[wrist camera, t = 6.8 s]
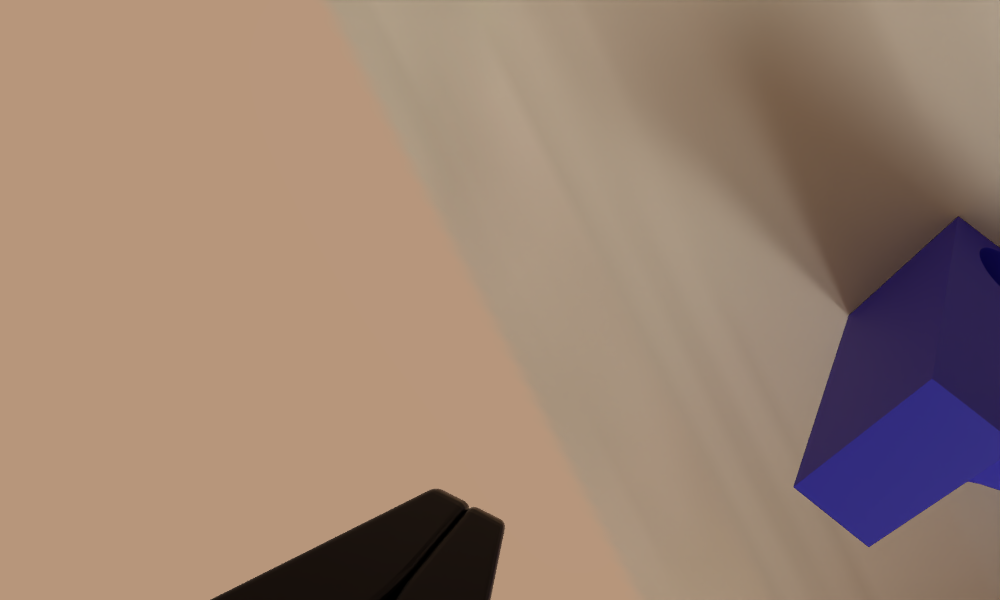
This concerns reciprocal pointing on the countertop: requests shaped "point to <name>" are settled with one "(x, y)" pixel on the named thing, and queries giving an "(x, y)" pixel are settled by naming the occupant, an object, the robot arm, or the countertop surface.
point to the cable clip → (912, 391)
